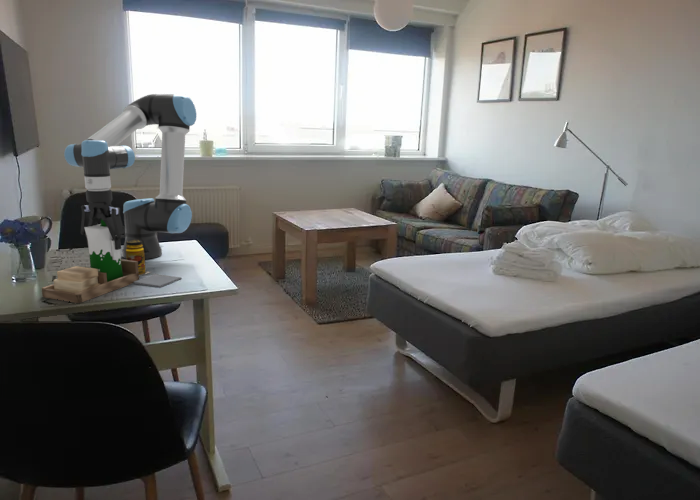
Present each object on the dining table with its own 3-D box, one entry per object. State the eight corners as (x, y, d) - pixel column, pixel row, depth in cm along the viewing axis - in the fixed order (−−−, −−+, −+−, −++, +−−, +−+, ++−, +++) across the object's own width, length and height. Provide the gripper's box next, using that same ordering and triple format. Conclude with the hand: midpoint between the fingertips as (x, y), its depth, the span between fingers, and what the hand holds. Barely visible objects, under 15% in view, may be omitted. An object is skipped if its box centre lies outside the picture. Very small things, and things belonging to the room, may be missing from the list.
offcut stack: (74, 289, 165) (72, 265, 164) (101, 291, 163) (99, 268, 161) (54, 296, 157) (51, 272, 156) (82, 300, 155) (79, 275, 153)
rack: (105, 276, 180) (104, 257, 178) (139, 281, 175) (137, 261, 173) (42, 297, 156) (40, 275, 155) (79, 303, 152) (76, 280, 150)
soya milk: (127, 277, 173) (122, 219, 168) (104, 284, 165) (98, 223, 160) (110, 273, 177) (104, 216, 172) (86, 280, 169) (79, 220, 164)
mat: (155, 275, 182) (155, 273, 182) (181, 278, 179) (181, 277, 178) (133, 283, 172) (133, 281, 172) (160, 287, 168) (160, 285, 168)
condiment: (134, 277, 179) (132, 244, 177) (118, 273, 183) (116, 241, 181) (151, 272, 185) (149, 240, 183) (136, 269, 190) (133, 237, 187)
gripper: (62, 188, 164) (70, 256, 169) (116, 192, 157) (122, 263, 162) (81, 186, 171) (88, 251, 176) (134, 190, 164) (139, 258, 169)
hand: (105, 257), depth 169 cm, fingers closed on soya milk, 9 cm apart
